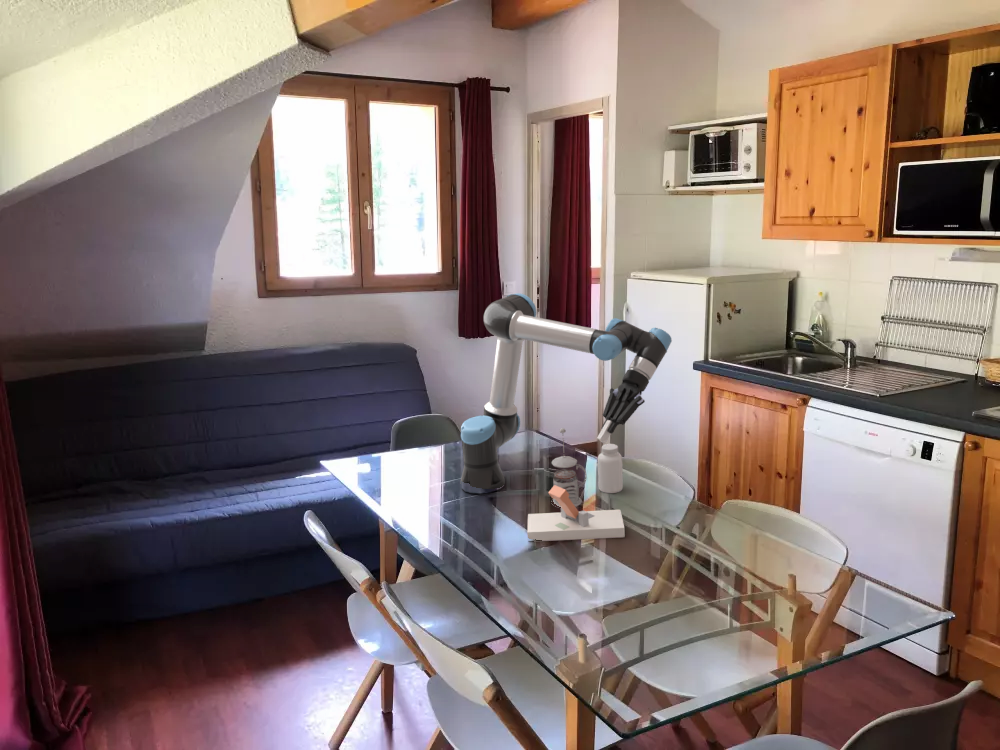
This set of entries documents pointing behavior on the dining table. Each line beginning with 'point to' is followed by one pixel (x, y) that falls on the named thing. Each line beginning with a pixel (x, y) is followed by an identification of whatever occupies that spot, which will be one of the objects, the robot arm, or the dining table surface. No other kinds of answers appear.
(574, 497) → the french press
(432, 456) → the dining table surface
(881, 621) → the dining table surface
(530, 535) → the white switch base plate
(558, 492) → the lever
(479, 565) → the dining table surface
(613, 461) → the pill bottle
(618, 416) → the robot arm
